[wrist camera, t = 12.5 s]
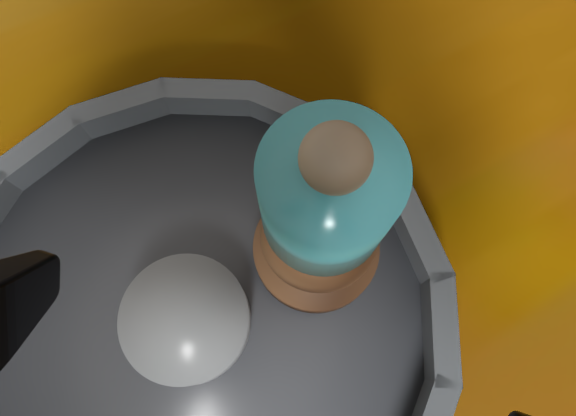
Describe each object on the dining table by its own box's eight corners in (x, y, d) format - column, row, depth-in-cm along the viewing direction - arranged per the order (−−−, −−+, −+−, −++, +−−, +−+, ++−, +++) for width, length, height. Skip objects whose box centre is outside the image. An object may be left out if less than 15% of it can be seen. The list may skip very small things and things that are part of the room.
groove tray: (-120, 605, 18) (-182, 640, 16) (5, 99, 25) (-25, 70, 22) (456, 633, 18) (482, 674, 15) (428, 113, 24) (443, 86, 22)
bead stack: (273, 329, 20) (257, 288, 10) (240, 213, 22) (196, 73, 11) (393, 292, 21) (496, 217, 10) (352, 181, 22) (407, 19, 12)
